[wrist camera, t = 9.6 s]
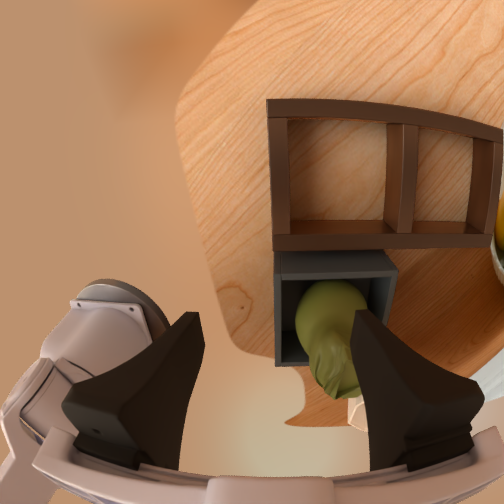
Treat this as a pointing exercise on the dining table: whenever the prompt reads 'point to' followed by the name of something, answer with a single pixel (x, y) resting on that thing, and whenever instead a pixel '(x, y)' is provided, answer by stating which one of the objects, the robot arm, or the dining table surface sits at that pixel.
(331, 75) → the dining table surface
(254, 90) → the dining table surface
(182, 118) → the dining table surface
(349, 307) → the olive cloth sack
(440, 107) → the dining table surface
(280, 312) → the tub
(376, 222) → the rack
